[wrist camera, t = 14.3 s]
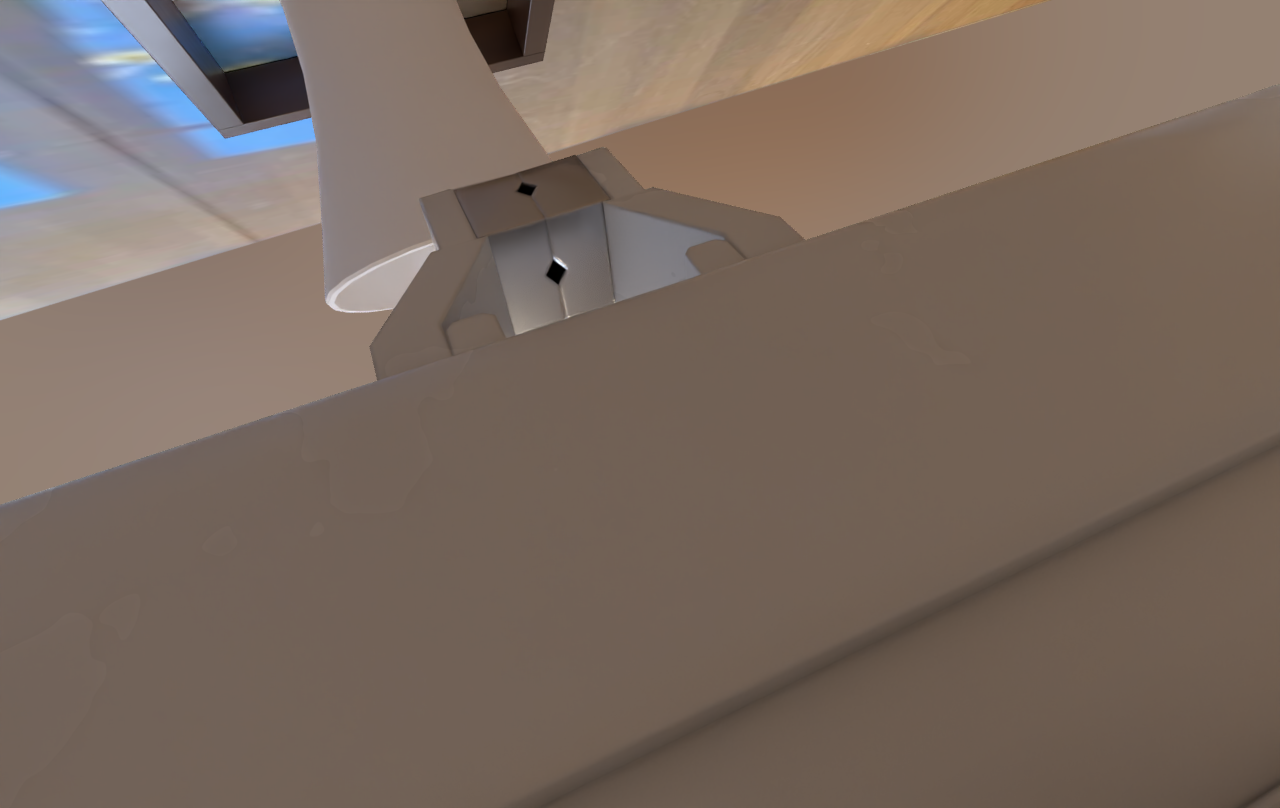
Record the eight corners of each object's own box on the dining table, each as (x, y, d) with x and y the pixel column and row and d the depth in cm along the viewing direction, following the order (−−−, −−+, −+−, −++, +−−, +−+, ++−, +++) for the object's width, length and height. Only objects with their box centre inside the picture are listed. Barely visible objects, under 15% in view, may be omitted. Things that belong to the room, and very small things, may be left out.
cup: (486, -32, 32) (587, 251, 33) (257, 32, 31) (368, 324, 31) (458, -236, 21) (606, 185, 22) (108, -153, 20) (280, 291, 21)
